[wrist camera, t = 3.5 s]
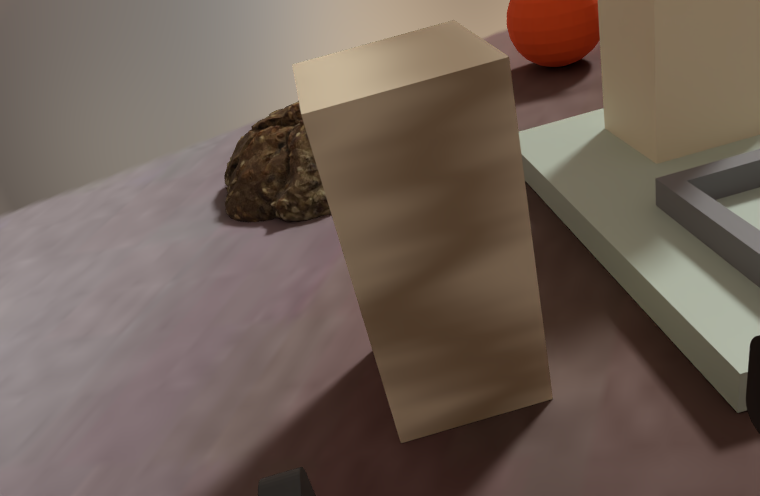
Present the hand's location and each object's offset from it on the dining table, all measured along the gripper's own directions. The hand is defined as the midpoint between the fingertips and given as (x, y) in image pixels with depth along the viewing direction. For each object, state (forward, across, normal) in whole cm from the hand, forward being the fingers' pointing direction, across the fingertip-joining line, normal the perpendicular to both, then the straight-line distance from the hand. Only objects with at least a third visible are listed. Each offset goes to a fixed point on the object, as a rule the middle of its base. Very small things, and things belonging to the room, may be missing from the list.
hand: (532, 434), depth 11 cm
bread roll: (+30, +3, +7) cm, 31 cm away
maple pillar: (+9, 0, +6) cm, 11 cm away
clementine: (+37, -16, +7) cm, 41 cm away
